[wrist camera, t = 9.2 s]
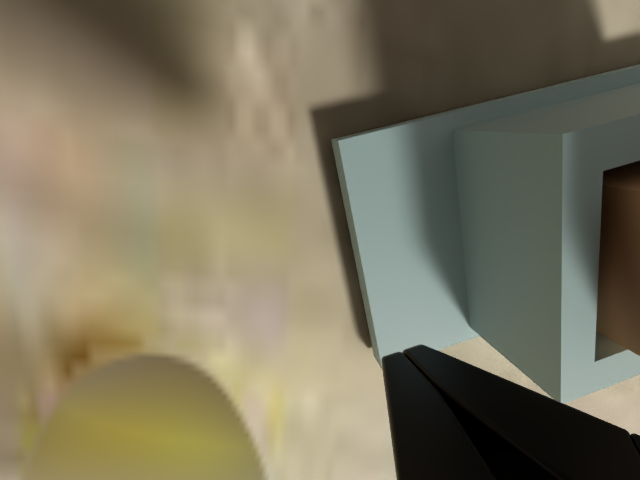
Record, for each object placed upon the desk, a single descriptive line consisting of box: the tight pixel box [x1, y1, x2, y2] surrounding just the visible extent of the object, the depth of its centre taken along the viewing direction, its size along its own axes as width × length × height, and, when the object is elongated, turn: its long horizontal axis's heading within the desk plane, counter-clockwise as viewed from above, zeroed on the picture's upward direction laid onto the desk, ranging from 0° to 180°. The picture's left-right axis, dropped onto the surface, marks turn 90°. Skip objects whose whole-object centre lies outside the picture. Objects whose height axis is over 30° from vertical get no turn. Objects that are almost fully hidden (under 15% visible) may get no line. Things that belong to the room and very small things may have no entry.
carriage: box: [331, 64, 640, 404], centre depth 11 cm, size 8×14×5 cm, turn 102°
